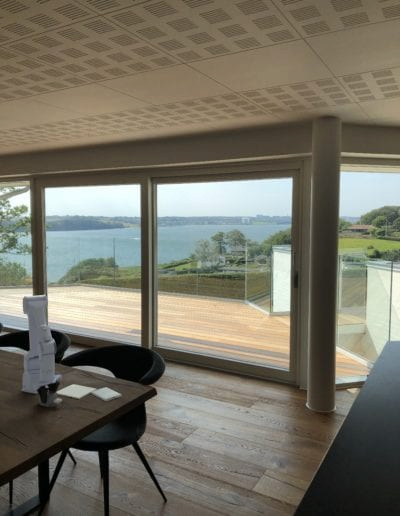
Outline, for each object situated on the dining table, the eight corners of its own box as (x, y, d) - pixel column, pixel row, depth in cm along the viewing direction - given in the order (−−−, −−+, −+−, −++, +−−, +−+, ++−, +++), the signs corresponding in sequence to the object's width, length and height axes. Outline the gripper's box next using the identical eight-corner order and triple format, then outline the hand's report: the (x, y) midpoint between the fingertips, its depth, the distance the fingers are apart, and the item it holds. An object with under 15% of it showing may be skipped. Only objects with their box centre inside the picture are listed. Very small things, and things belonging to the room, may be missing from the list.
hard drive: (90, 391, 193) (105, 399, 184) (106, 386, 199) (121, 393, 190) (90, 395, 193) (105, 402, 184) (106, 390, 199) (121, 397, 190)
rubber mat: (54, 393, 193) (54, 392, 193) (73, 385, 204) (73, 384, 203) (78, 399, 187) (78, 397, 187) (96, 390, 198) (96, 388, 198)
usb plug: (36, 404, 181) (36, 392, 181) (43, 400, 185) (43, 389, 184) (56, 408, 176) (56, 397, 176) (63, 405, 180) (63, 393, 180)
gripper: (41, 376, 172) (42, 409, 173) (66, 365, 185) (67, 396, 186) (28, 373, 175) (29, 406, 176) (54, 363, 188) (55, 394, 189)
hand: (48, 401), depth 181 cm, fingers closed on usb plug, 4 cm apart
